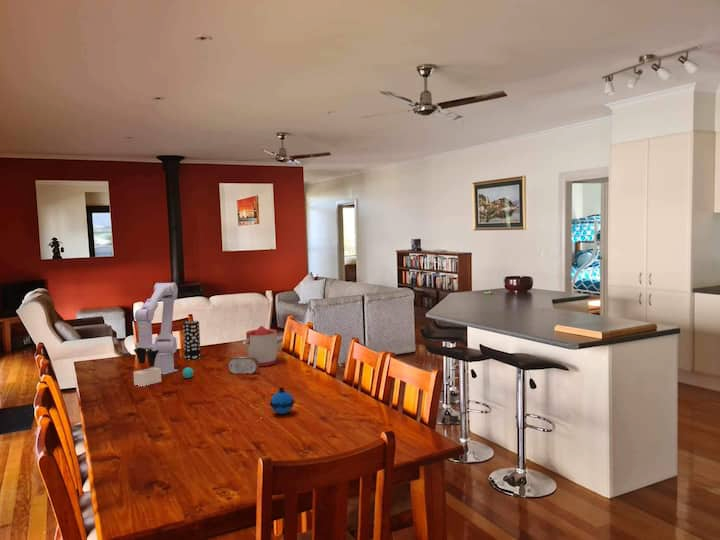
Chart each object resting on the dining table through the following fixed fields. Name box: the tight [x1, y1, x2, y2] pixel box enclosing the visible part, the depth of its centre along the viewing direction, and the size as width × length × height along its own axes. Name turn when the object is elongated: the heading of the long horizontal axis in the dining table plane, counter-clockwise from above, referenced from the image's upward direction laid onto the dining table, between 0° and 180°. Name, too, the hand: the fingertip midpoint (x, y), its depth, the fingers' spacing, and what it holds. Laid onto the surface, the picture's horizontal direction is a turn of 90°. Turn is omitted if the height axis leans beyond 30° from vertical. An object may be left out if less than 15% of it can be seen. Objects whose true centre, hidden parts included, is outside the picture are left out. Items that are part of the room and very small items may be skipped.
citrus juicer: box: [242, 325, 278, 367], centre depth 271 cm, size 16×17×20 cm
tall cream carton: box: [133, 366, 162, 388], centre depth 242 cm, size 6×10×6 cm, turn 143°
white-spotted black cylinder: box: [182, 320, 202, 361], centre depth 287 cm, size 8×8×20 cm
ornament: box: [269, 386, 295, 415], centre depth 197 cm, size 9×9×10 cm
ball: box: [182, 366, 194, 379], centre depth 250 cm, size 5×5×5 cm
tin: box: [227, 355, 260, 375], centre depth 254 cm, size 15×3×8 cm, turn 84°
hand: (146, 364), depth 242 cm, fingers open, 7 cm apart
